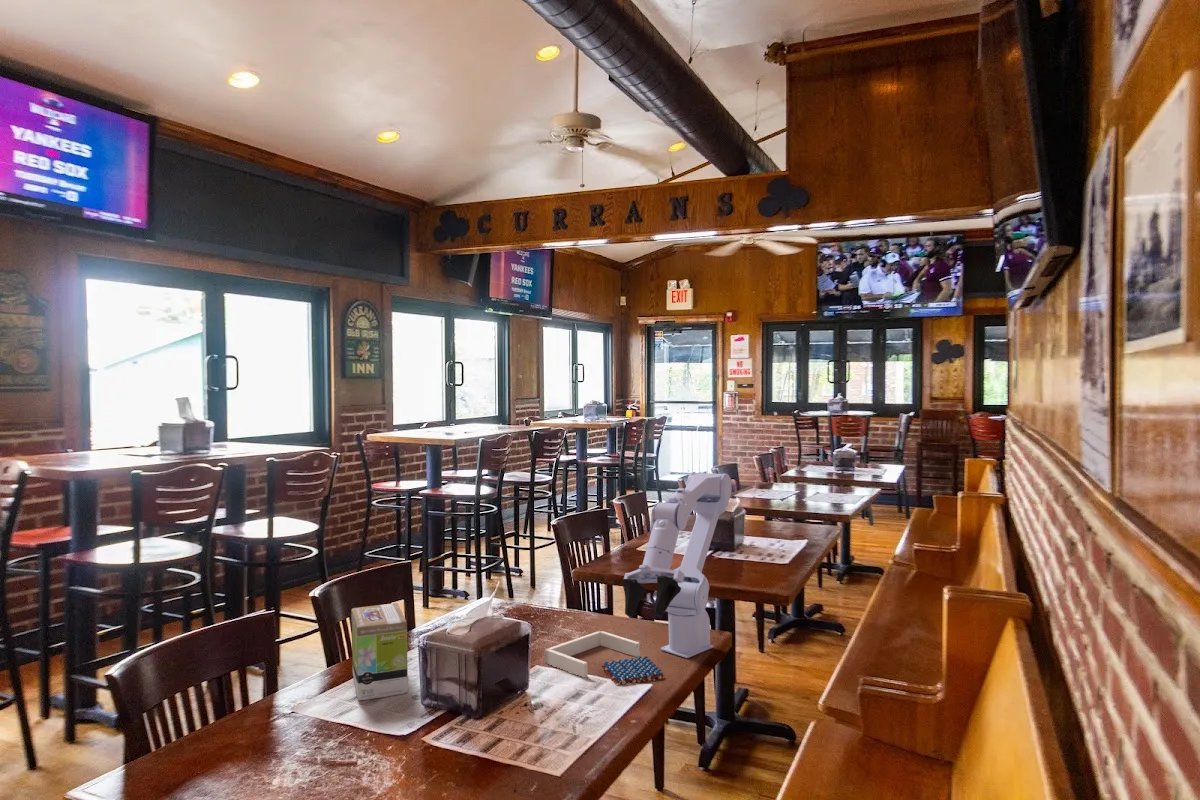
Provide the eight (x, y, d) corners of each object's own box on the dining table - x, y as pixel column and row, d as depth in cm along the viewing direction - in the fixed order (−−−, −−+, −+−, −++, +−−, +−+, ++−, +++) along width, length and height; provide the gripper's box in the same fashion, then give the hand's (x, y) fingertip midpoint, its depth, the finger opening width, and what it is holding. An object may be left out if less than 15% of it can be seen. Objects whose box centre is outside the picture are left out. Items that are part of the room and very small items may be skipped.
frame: (600, 643, 182) (600, 630, 182) (640, 656, 173) (639, 642, 173) (545, 663, 170) (544, 649, 170) (584, 678, 161) (583, 663, 161)
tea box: (410, 693, 155) (407, 620, 155) (357, 702, 152) (354, 627, 151) (400, 668, 169) (397, 600, 169) (351, 675, 166) (349, 606, 165)
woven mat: (600, 670, 166) (599, 661, 166) (646, 663, 170) (646, 654, 169) (615, 688, 156) (615, 678, 156) (664, 681, 160) (664, 671, 159)
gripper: (621, 547, 166) (604, 607, 159) (675, 542, 157) (659, 606, 149) (641, 562, 170) (625, 622, 163) (695, 559, 160) (680, 621, 153)
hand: (643, 615), depth 156 cm, fingers open, 7 cm apart
